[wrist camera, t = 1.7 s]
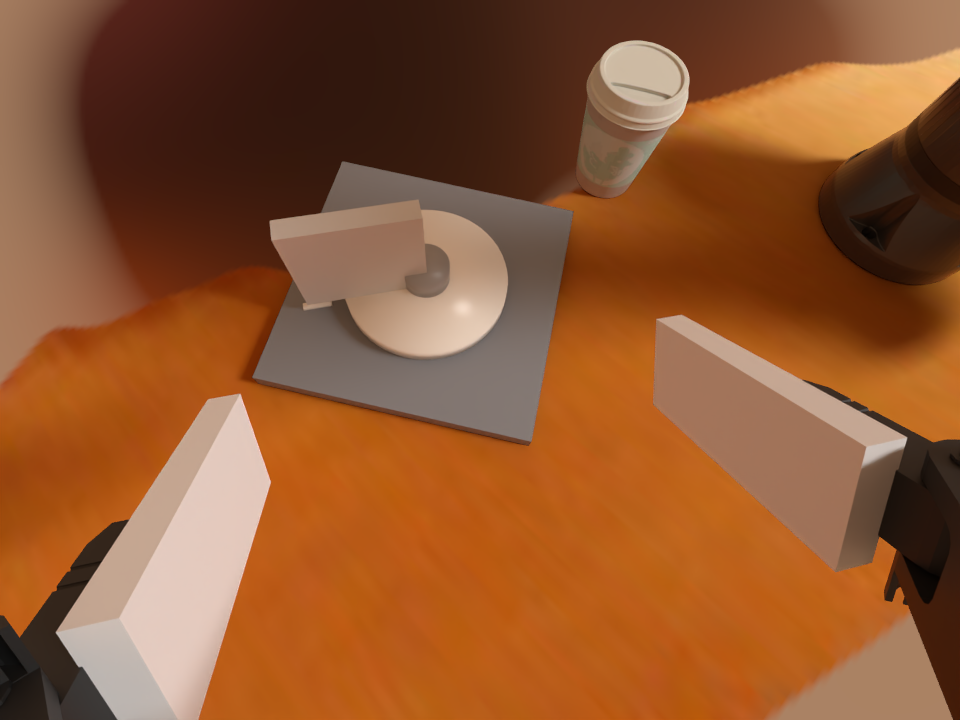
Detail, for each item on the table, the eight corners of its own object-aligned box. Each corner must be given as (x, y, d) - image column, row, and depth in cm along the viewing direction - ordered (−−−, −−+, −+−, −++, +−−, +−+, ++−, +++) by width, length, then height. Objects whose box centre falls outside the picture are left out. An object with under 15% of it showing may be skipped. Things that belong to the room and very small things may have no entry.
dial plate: (570, 221, 50) (574, 209, 48) (528, 445, 41) (531, 441, 40) (345, 172, 50) (342, 159, 49) (258, 383, 42) (251, 376, 40)
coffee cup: (545, 172, 52) (571, 66, 41) (599, 131, 54) (638, 21, 43) (606, 224, 50) (651, 128, 39) (660, 179, 52) (717, 77, 41)
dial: (486, 210, 47) (496, 120, 38) (523, 343, 43) (545, 279, 33) (303, 237, 45) (263, 149, 35) (320, 380, 40) (278, 324, 31)
